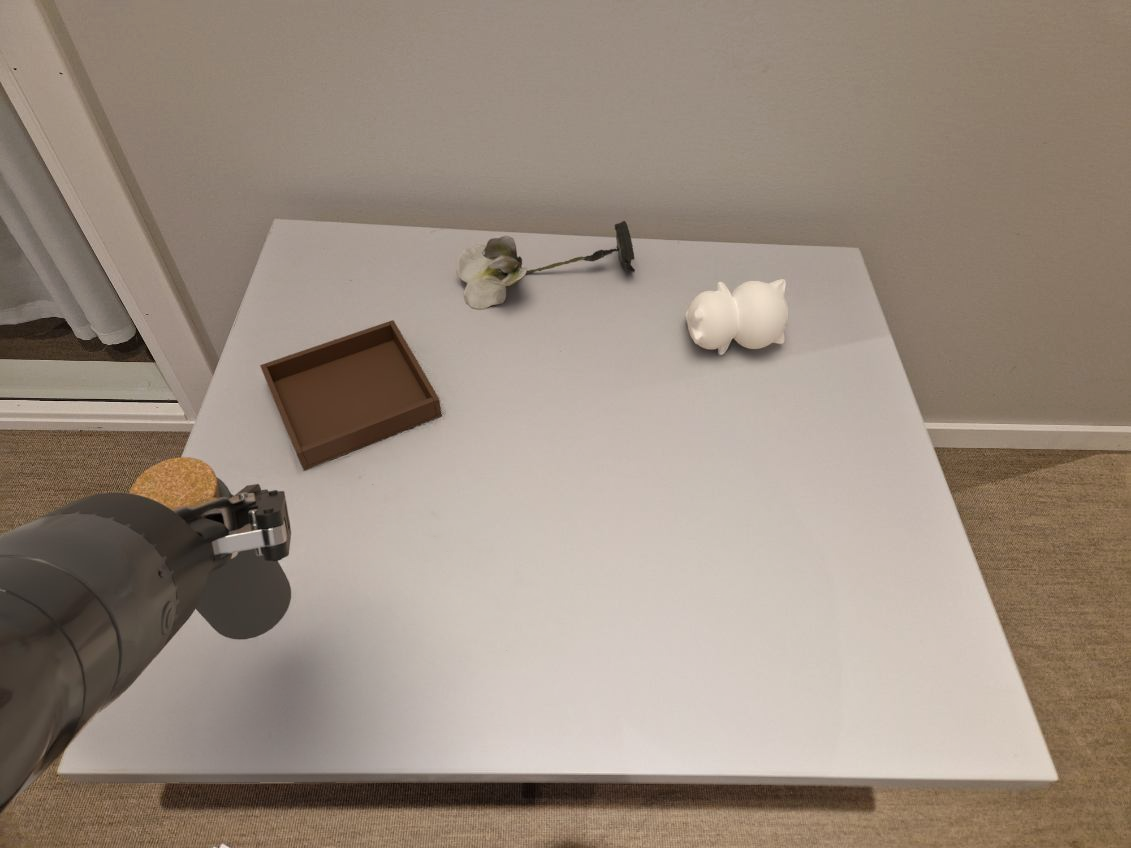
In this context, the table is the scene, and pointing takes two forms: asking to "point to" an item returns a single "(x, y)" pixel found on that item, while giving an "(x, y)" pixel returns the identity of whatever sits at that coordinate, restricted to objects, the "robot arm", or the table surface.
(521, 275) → the artificial flower
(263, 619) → the bottle
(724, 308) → the cat figurine
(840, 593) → the table surface
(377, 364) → the tray
